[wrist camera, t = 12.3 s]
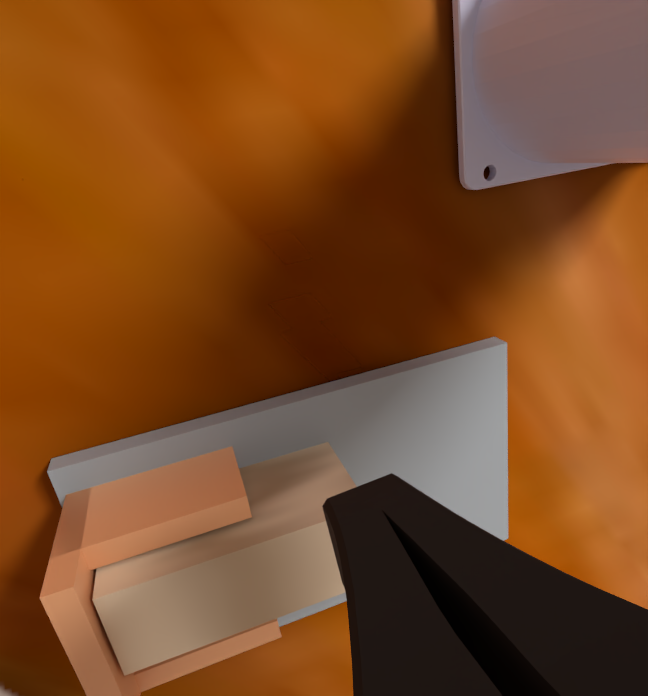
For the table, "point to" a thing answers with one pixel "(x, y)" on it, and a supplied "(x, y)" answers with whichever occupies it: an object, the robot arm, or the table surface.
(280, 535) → the beige rectangular block
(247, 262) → the table surface
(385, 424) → the board
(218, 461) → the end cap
